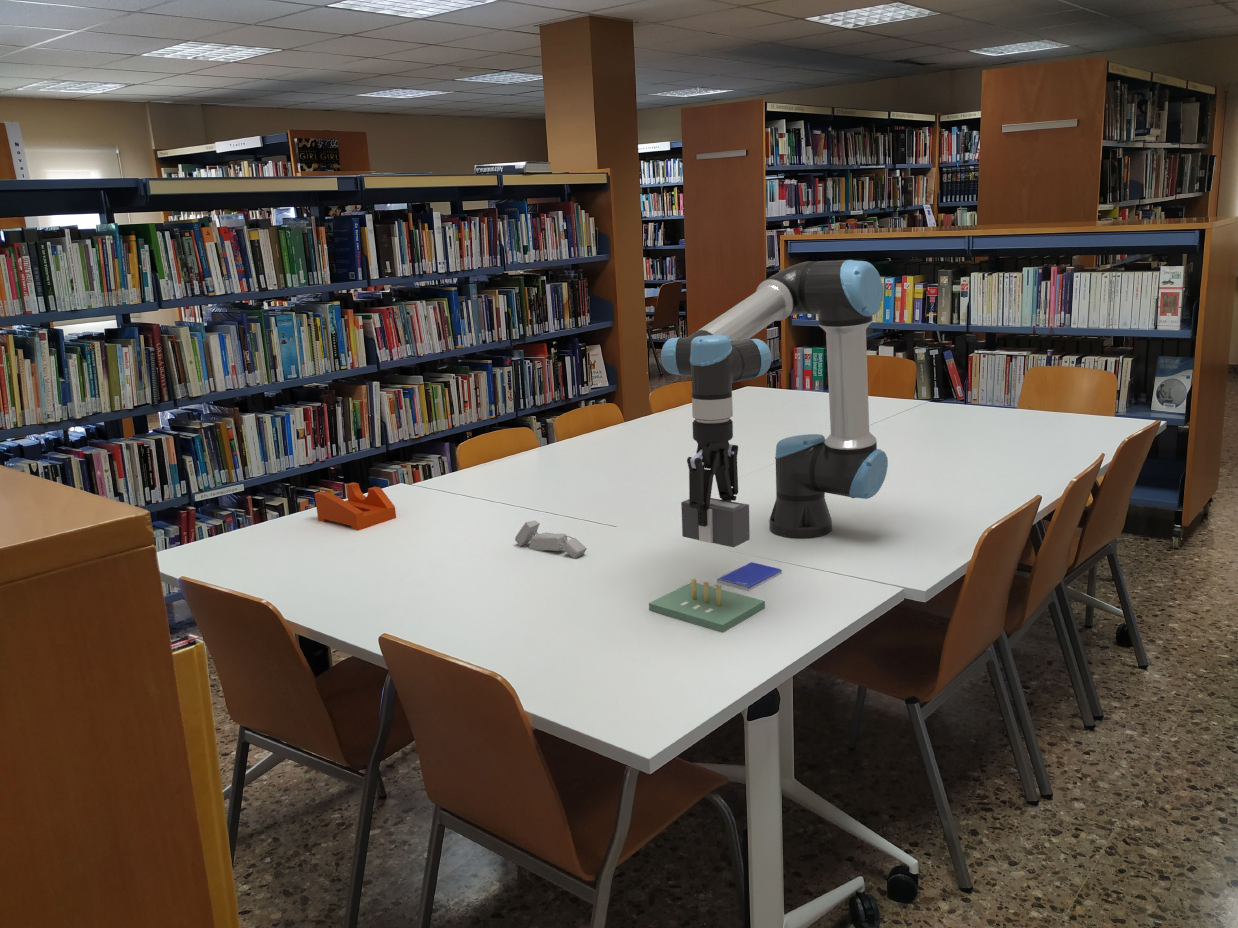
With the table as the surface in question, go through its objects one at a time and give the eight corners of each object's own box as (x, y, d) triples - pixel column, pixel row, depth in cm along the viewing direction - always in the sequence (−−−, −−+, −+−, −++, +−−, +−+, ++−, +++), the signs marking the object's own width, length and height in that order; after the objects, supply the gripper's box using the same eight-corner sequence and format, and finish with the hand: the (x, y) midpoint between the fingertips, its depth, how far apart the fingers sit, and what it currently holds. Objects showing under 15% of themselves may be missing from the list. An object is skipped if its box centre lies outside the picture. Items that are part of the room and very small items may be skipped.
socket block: (698, 529, 186) (697, 494, 184) (749, 539, 178) (749, 503, 176) (682, 536, 182) (681, 501, 180) (733, 547, 174) (732, 510, 172)
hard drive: (748, 586, 192) (781, 569, 200) (716, 578, 197) (750, 561, 206) (748, 593, 192) (781, 575, 201) (716, 584, 198) (750, 568, 206)
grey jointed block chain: (514, 544, 228) (513, 518, 226) (524, 540, 231) (524, 514, 229) (577, 566, 217) (577, 539, 214) (587, 561, 219) (587, 534, 217)
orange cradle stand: (318, 522, 258) (314, 493, 256) (356, 510, 267) (352, 482, 265) (358, 532, 247) (354, 502, 245) (396, 519, 256) (393, 490, 254)
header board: (692, 588, 195) (691, 563, 194) (764, 607, 183) (764, 581, 182) (649, 610, 185) (647, 584, 184) (722, 632, 173) (722, 604, 172)
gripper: (724, 409, 183) (726, 521, 189) (666, 426, 170) (670, 546, 176) (756, 412, 179) (757, 527, 184) (699, 430, 165) (703, 553, 171)
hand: (715, 536), depth 180 cm, fingers closed on socket block, 5 cm apart
